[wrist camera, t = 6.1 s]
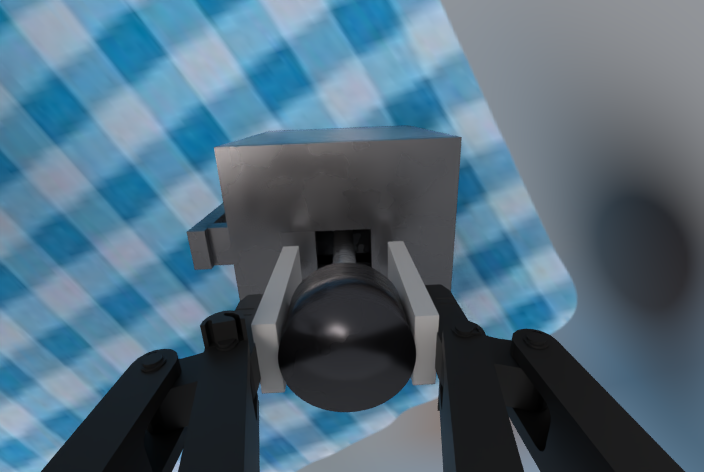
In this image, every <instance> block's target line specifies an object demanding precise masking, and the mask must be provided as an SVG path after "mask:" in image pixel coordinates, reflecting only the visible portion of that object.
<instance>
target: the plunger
mask: <svg viewBox="0 0 704 472" xmlns="http://www.w3.org/2000/svg"><path fill="white" fill-rule="evenodd" d="M316 239H317V252H318V255H323V254H333V264H331V265H327V266H325V267H322V268H320V269H318V270H316V271H314V272H312V273H311V274H309V275H308V276H307V277H306V278H305V279H304V280H302V282H301V283H300V284H299V285H298V287H297V288H296V290H295V291H294V294H293V296H292V298H291V302H290V306H289V310H288V314H287V318H286V321H285V325H284V329H283V333H282V337H281V341H280V345H279V350H278V364H279V369H280V372H281V374H282V377H283V379H284V381H285V382H286V384H287V385H288V387H289V388H290V389H291V390H292V391H293V392H294V393H295V394H296V395H297V396H298V397H300V398H301V399H302V400H304V401H306V402H307V403H309V404H311V405H313V406H316V407H318V408H321V409H325V410H329V411H335V412H355V411H362V410H366V409H370V408H373V407H376V406H378V405H380V404H382V403H384V402H386V401H388V400H389V399H391V398H392V397H393V396H395V395H396V394H397V393H398V392H399V391H400V390H401V389H402V388H403V387H404V386H405V385H406V383H407V382H408V380H409V379H410V377H411V375H412V372H413V370H414V366H415V362H416V346H415V342H414V338H413V335H412V332H411V329H410V326H409V323H408V320H407V317H406V314H405V311H404V308H403V305H402V301H401V298H400V296H399V293H398V291H397V289H396V288H395V286H394V285H393V283H392V282H391V281H390V280H389V279H388V278H387V277H386V276H385V275H383V274H382V273H381V272H379V271H377V270H375V269H374V268H371V267H369V266H366V265H362V264H358V263H356V259H355V253H366V252H370V229H355V230H333V231H316Z"/></svg>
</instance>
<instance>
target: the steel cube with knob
mask: <svg viewBox="0 0 704 472" xmlns="http://www.w3.org/2000/svg"><path fill="white" fill-rule="evenodd" d="M461 138H462V137H458V136H453V135H449V134H444V133H440V132H435V131H431V130H426V129H422V128H417V127H413V126H384V127H359V128H334V129H309V130H284V131H268V132H264V133H261V134H258V135H254V136H251V137H247V138H244V139H241V140H237V141H234V142H231V143H227V144H224V145H221V146H217V147H214V150H215V156H216V162H217V168H218V174H219V180H220V186H221V192H222V198H223V203H222V204H221V205H220V206H219V207H217V208H216V209H215V210H214V211H212V212H211V213H210V214H209V215H207V216H206V217H205V218H204V219H202V220H201V221H200V222H199V223H197V224H196V225H195V226H194V227H192V228H191V229H190V230H189V231H187V235H188V240H189V245H190V249H191V254H192V259H193V263H194V268H195V270H197V269H212V268H213V266H214V265H231V264H234V268H235V274H236V280H237V286H238V292H239V298H240V301H241V300H242V299H243V298H245V297H246V296H247V295H252V294H264V292H265V290H266V287H267V285H268V282H269V280H270V278H271V275H272V273H273V270H274V268H275V265H276V263H277V261H278V258H279V256H280V253H281V251H282V248H283V247H286V246H299V254H300V265H301V275H302V280H304V279H305V278H306V277H307V276H308V275H309V274H311V273H312V272H314V271H316V270H318V269H320V268H322V267H325V266H327V265H331V264H333V254H323V255H318V252H317V239H316V231H333V230H355V229H370V252H366V253H355V259H356V263H358V264H362V265H366V266H369V267H371V268H374V269H375V270H377V271H379V272H381V273H382V274H383V275H385V276H386V277H387V278H388V242H393V241H403V242H404V244H405V246H406V248H407V250H408V252H409V254H410V256H411V258H412V260H413V262H414V265H415V267H416V269H417V271H418V273H419V275H420V277H421V279H422V281H423V283H424V285H436V284H441V285H443V286H444V287H446V288H447V289H449V290H450V292H451V281H452V267H453V252H454V238H455V224H456V209H457V195H458V181H459V167H460V152H461Z"/></svg>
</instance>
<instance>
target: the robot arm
mask: <svg viewBox="0 0 704 472" xmlns="http://www.w3.org/2000/svg"><path fill="white" fill-rule="evenodd" d="M388 279H389V280H390V281H391V282H392V283H393V285H394V286H395V288H396V289H397V291H398V293H399V296H400V298H401V301H402V305H403V308H404V311H405V314H406V317H407V320H408V323H409V326H410V329H411V332H412V335H413V338H414V342H415V346H416V362H415V366H414V370H413V372H412V375H411V379H412V383H413V385H423V384H435V378H436V372H437V375H438V378H439V397H438V411H440V422H441V439H442V456H443V472H524V470H523V466H522V463H521V459H520V456H519V452H518V448H517V445H516V441H515V438H514V434H513V430H512V427H511V423H510V420H509V418H510V419H511V421H512V423H513V425H514V426H515V428H516V430H517V432H518V433H519V435H520V437H521V438H522V440H523V442H524V444H525V446H526V447H527V449H528V451H529V453H530V454H531V456H532V458H533V459H534V461H535V463H536V465H537V466H538V468H539V470H540V472H685V471H684V470H683V469H682V468H681V467H680V466H679V465H678V464H677V463H676V462H675V461H674V460H673V459H672V458H671V457H670V456H669V455H668V454H667V453H666V452H665V451H664V450H663V449H662V448H661V447H660V446H659V445H658V444H657V443H656V442H655V441H654V440H653V438H651V436H650V435H649V434H648V433H646V431H645V430H644V429H643V428H642V427H641V426H640V425H639V424H638V423H637V422H636V421H635V420H634V419H633V418H632V417H631V416H630V415H629V414H628V413H627V412H626V411H625V410H624V409H623V408H622V407H621V406H620V405H619V404H618V403H617V402H616V401H615V399H614V398H613V397H612V396H610V394H609V393H608V392H606V390H605V389H604V388H603V387H602V386H601V385H600V384H599V383H598V382H597V381H596V380H595V379H594V378H593V377H592V376H591V375H590V374H589V373H588V372H587V371H586V370H585V369H584V368H583V367H582V366H581V365H580V364H579V363H578V362H577V360H576V359H575V358H574V357H573V356H572V355H571V354H570V353H569V352H568V351H566V349H565V348H564V347H563V346H562V345H561V344H560V343H559V342H558V341H557V340H556V339H555V338H553V337H552V336H551V335H549V334H546V333H544V332H542V331H539V330H534V329H521V330H517V331H516V332H514V333H513V336H512V341H511V340H505V339H498V338H493V337H489V336H486V334H485V332H484V330H483V329H482V328H481V327H480V326H479V325H477V324H475V323H473V322H470V321H468V319H467V318H466V316H465V314H464V313H463V311H462V310H461V308H460V306H459V305H458V304H457V301H456V300H455V298H454V296H453V295H452V293H451V292H450V290H449V289H447V288H446V287H444V286H443V285H441V284H436V285H424V283H423V281H422V279H421V277H420V275H419V273H418V271H417V269H416V267H415V265H414V262H413V260H412V258H411V256H410V254H409V252H408V250H407V248H406V246H405V244H404V242H403V241H393V242H388ZM301 282H302V275H301V265H300V254H299V246H286V247H283V248H282V251H281V253H280V256H279V258H278V261H277V263H276V265H275V268H274V270H273V273H272V275H271V278H270V280H269V282H268V285H267V287H266V290H265V292H264V294H252V295H247V296H246V297H245V298H243V299H242V300H241V301H240V302H239V304H238V306H237V307H236V310H235V311H222V312H219V313H215V314H213V315H211V316H209V317H208V318H206V319H205V320H204V321H203V322H202V324H201V325H200V327H201V332H202V336H203V341H204V346H205V351H204V352H203V353H200V354H197V355H194V356H190V357H186V358H182V359H178V356H177V352H175V351H173V350H171V349H160V350H155V351H152V352H149V353H146V354H145V355H143V356H141V357H139V358H138V359H137V360H136V361H134V362H133V363H132V364H131V365H130V367H129V368H128V369H127V370H126V371H125V372H124V374H123V375H122V376H121V377H120V378H119V380H118V381H117V382H116V383H115V384H114V386H113V387H112V388H111V389H110V390H109V391H108V393H107V394H106V395H105V396H104V397H103V399H102V400H101V401H100V402H99V403H98V404H97V406H96V407H95V408H94V409H93V410H92V412H91V413H90V414H89V415H88V416H87V418H86V419H85V420H84V421H83V422H82V423H81V425H80V426H79V427H78V428H77V429H76V431H75V432H74V433H73V434H72V435H71V437H70V438H69V439H68V440H67V441H66V442H65V444H64V445H63V446H62V447H61V448H60V450H59V451H58V452H57V453H56V454H55V455H54V457H53V458H52V459H51V460H50V461H49V463H48V464H47V465H46V466H45V467H44V469H43V470H42V471H41V472H172V470H173V468H174V466H175V464H176V462H177V460H178V458H179V456H180V454H181V452H182V450H183V452H182V456H181V461H180V466H179V470H178V472H260V471H259V401H258V395H257V390H258V387H259V383H260V384H261V390H262V393H279V392H285V387H286V382H285V381H284V379H283V377H282V374H281V372H280V369H279V364H278V350H279V345H280V341H281V337H282V333H283V329H284V325H285V321H286V318H287V314H288V310H289V306H290V302H291V298H292V296H293V294H294V291H295V290H296V288H297V287H298V285H299V284H300V283H301Z"/></svg>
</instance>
